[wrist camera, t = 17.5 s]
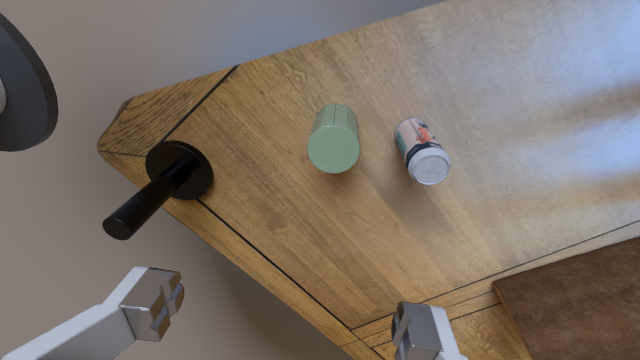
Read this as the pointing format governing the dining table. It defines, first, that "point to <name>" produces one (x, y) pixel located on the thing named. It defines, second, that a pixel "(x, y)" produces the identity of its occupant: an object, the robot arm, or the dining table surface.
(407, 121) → the beer can
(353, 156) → the green fluted cylinder
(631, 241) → the bread
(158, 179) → the holder
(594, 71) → the dining table surface
